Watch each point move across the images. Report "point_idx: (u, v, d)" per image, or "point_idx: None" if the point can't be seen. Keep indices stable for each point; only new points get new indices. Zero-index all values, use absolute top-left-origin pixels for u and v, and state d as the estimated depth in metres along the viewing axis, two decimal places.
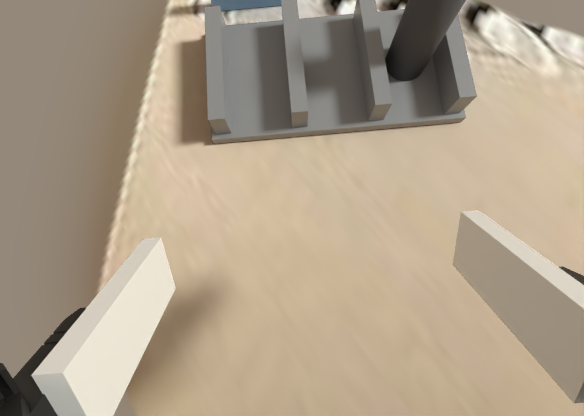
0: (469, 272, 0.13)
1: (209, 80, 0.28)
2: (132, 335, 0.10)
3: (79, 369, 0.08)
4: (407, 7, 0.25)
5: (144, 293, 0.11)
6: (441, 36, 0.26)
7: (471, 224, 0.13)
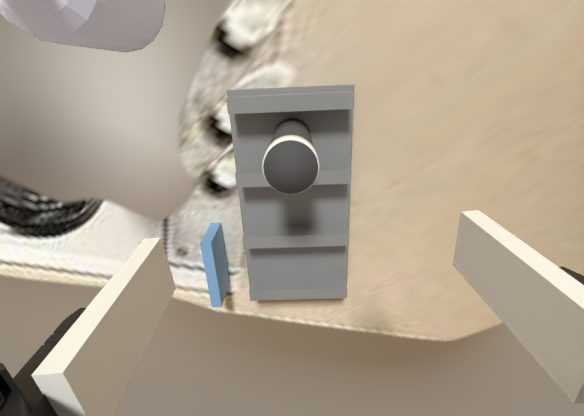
0: (470, 272, 0.13)
1: (314, 297, 0.38)
2: (132, 335, 0.10)
3: (79, 369, 0.08)
4: None
5: (143, 293, 0.11)
6: (309, 136, 0.28)
7: (471, 224, 0.13)
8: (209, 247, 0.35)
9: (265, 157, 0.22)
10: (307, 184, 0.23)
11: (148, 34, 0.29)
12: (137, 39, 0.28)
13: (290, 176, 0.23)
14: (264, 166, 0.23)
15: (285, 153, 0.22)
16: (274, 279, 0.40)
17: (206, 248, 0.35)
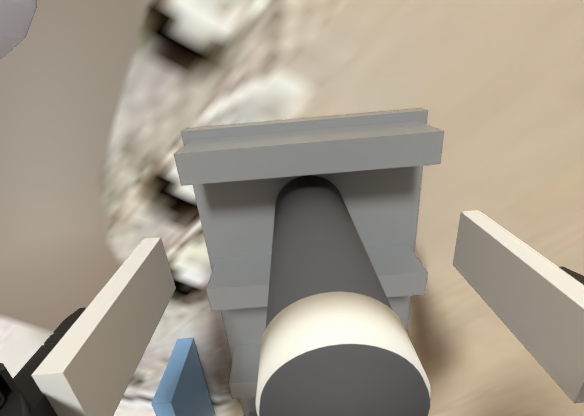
0: (470, 272, 0.13)
1: None
2: (132, 335, 0.10)
3: (79, 369, 0.08)
4: None
5: (144, 294, 0.11)
6: (358, 236, 0.13)
7: (471, 224, 0.13)
8: (169, 409, 0.19)
9: (264, 390, 0.07)
10: None
11: None
12: None
13: None
14: (262, 413, 0.07)
15: (328, 383, 0.07)
16: None
17: (163, 411, 0.19)
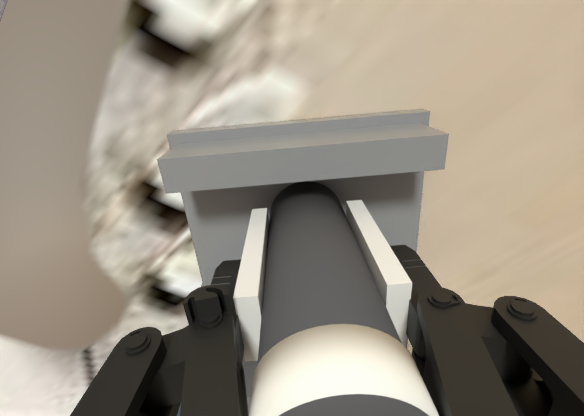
0: None
1: None
2: None
3: (260, 297, 0.10)
4: None
5: None
6: (359, 250, 0.12)
7: (349, 211, 0.15)
8: None
9: None
10: None
11: None
12: None
13: None
14: None
15: None
16: None
17: None
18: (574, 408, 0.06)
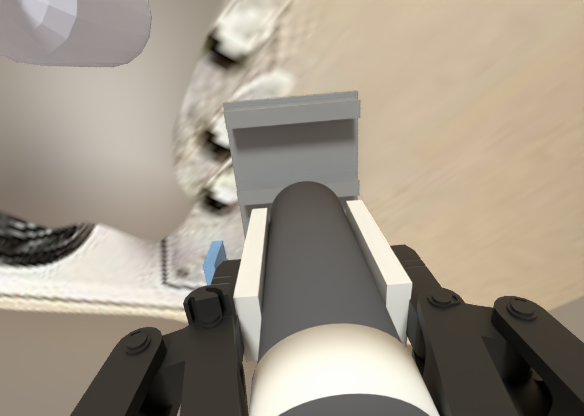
0: None
1: None
2: None
3: (260, 297, 0.10)
4: None
5: None
6: (359, 249, 0.12)
7: (349, 211, 0.15)
8: (213, 269, 0.33)
9: None
10: None
11: (135, 47, 0.27)
12: (123, 53, 0.26)
13: None
14: None
15: None
16: None
17: (209, 270, 0.33)
18: (574, 408, 0.06)
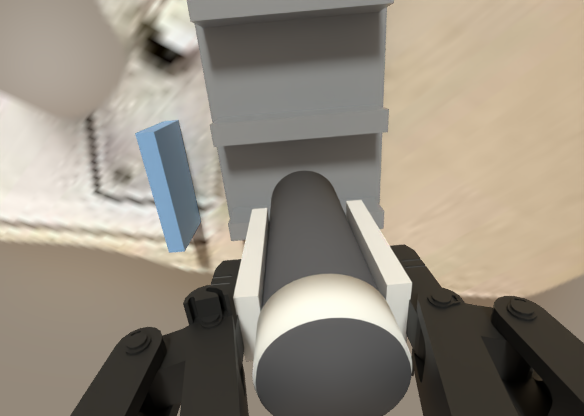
0: None
1: None
2: None
3: (260, 297, 0.10)
4: None
5: None
6: (349, 226, 0.13)
7: (349, 211, 0.15)
8: (153, 141, 0.20)
9: (260, 362, 0.08)
10: (378, 412, 0.09)
11: None
12: None
13: (332, 399, 0.08)
14: (258, 383, 0.08)
15: (318, 354, 0.08)
16: (268, 209, 0.26)
17: (147, 143, 0.20)
18: (574, 408, 0.06)
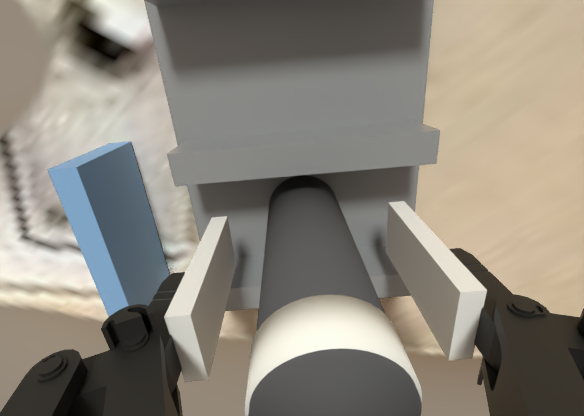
0: (394, 256, 0.14)
1: None
2: (218, 297, 0.12)
3: (196, 315, 0.09)
4: None
5: (221, 263, 0.13)
6: (351, 237, 0.13)
7: (394, 213, 0.14)
8: (76, 181, 0.13)
9: (253, 396, 0.07)
10: None
11: None
12: None
13: None
14: None
15: (317, 388, 0.07)
16: (259, 263, 0.19)
17: (67, 184, 0.13)
18: None
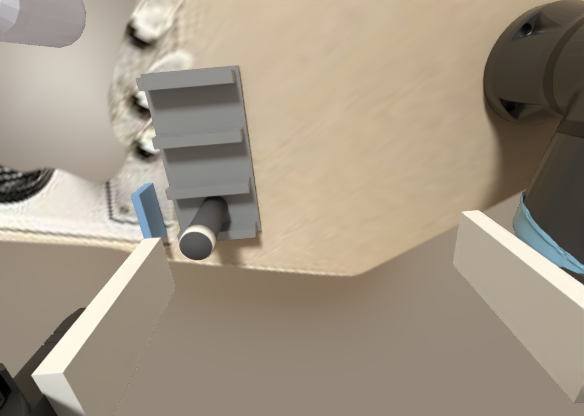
0: (470, 272, 0.13)
1: (230, 238, 0.48)
2: (132, 335, 0.10)
3: (79, 369, 0.08)
4: None
5: (143, 294, 0.11)
6: (218, 215, 0.44)
7: (471, 224, 0.13)
8: (138, 198, 0.44)
9: (180, 241, 0.38)
10: (207, 254, 0.39)
11: (72, 32, 0.38)
12: (63, 36, 0.37)
13: (196, 250, 0.39)
14: (180, 246, 0.38)
15: (191, 239, 0.38)
16: None
17: (136, 199, 0.44)
18: None
